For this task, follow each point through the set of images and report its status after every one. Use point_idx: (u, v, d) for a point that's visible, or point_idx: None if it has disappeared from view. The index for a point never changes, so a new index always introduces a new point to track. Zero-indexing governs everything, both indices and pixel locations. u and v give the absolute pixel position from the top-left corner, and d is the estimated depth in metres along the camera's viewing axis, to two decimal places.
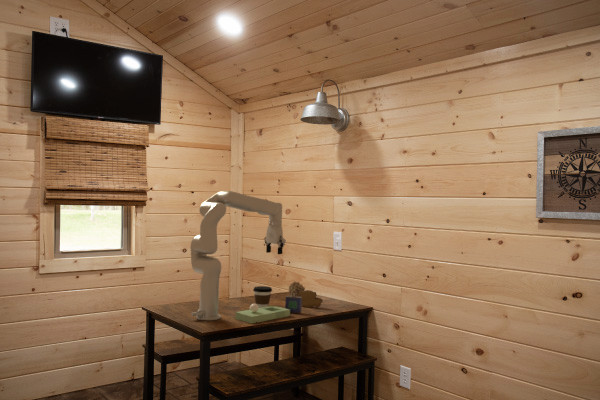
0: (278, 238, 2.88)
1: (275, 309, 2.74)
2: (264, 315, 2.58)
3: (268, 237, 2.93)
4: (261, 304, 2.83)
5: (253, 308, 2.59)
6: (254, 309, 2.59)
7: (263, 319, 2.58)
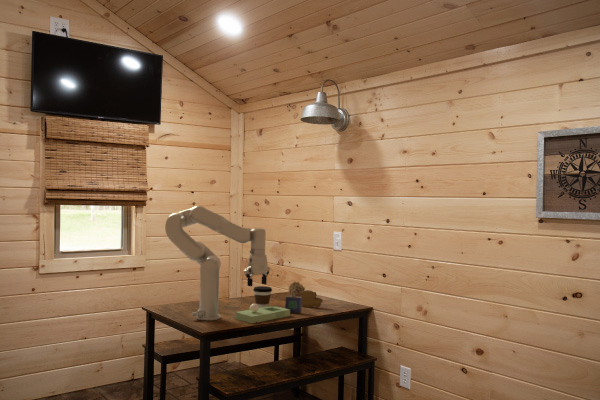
0: None
1: (275, 309, 2.74)
2: (264, 315, 2.58)
3: (257, 268, 2.59)
4: (261, 304, 2.83)
5: (253, 308, 2.59)
6: (254, 309, 2.59)
7: (263, 319, 2.58)
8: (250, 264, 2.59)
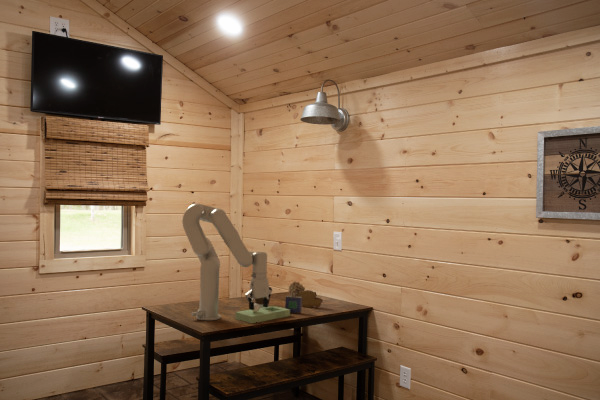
0: None
1: (275, 309, 2.74)
2: (264, 315, 2.58)
3: (259, 292, 2.60)
4: (261, 304, 2.83)
5: (254, 307, 2.60)
6: (255, 308, 2.60)
7: (263, 319, 2.58)
8: (252, 288, 2.60)
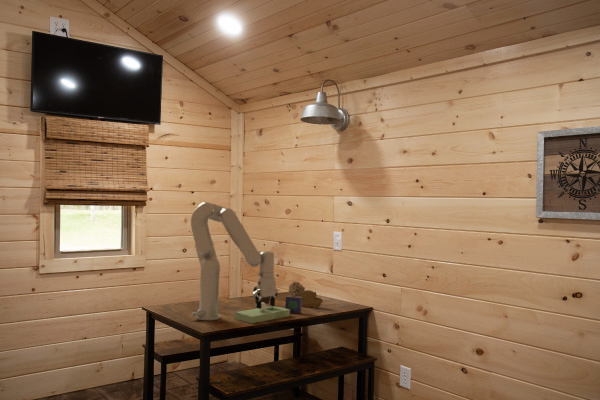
0: None
1: (275, 309, 2.74)
2: (264, 315, 2.58)
3: (266, 291, 2.64)
4: None
5: None
6: (265, 305, 2.65)
7: (263, 319, 2.58)
8: (259, 287, 2.64)
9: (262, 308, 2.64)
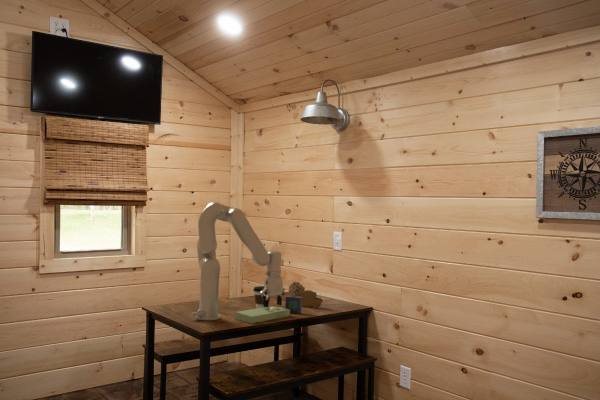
0: None
1: None
2: (264, 315, 2.58)
3: (273, 290, 2.67)
4: (261, 304, 2.83)
5: None
6: None
7: (263, 319, 2.58)
8: (266, 286, 2.67)
9: None
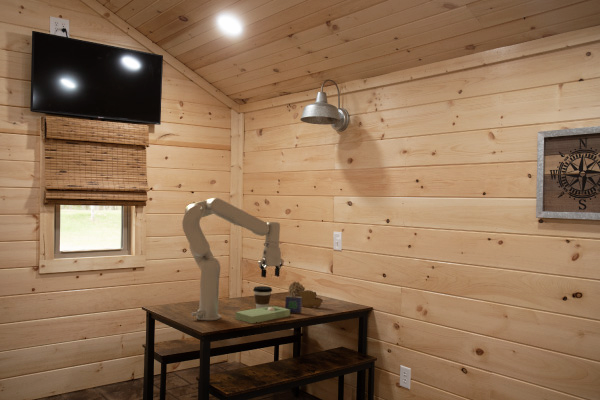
0: None
1: (275, 309, 2.74)
2: (264, 315, 2.58)
3: (271, 260, 2.68)
4: (261, 304, 2.83)
5: None
6: None
7: (263, 319, 2.58)
8: (264, 256, 2.68)
9: (274, 310, 2.70)
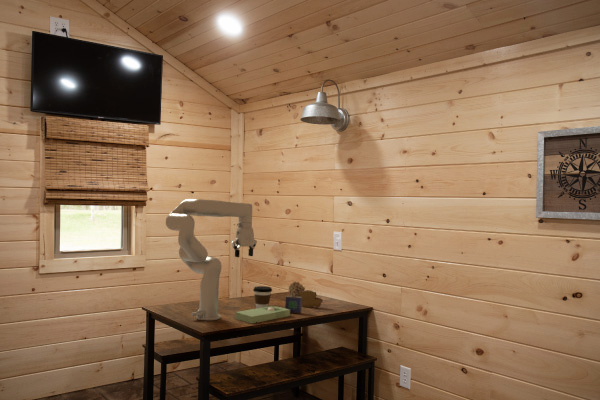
0: None
1: (275, 309, 2.74)
2: (264, 315, 2.58)
3: (244, 240, 2.76)
4: (261, 304, 2.83)
5: None
6: None
7: (263, 319, 2.58)
8: (237, 236, 2.76)
9: (274, 310, 2.70)
